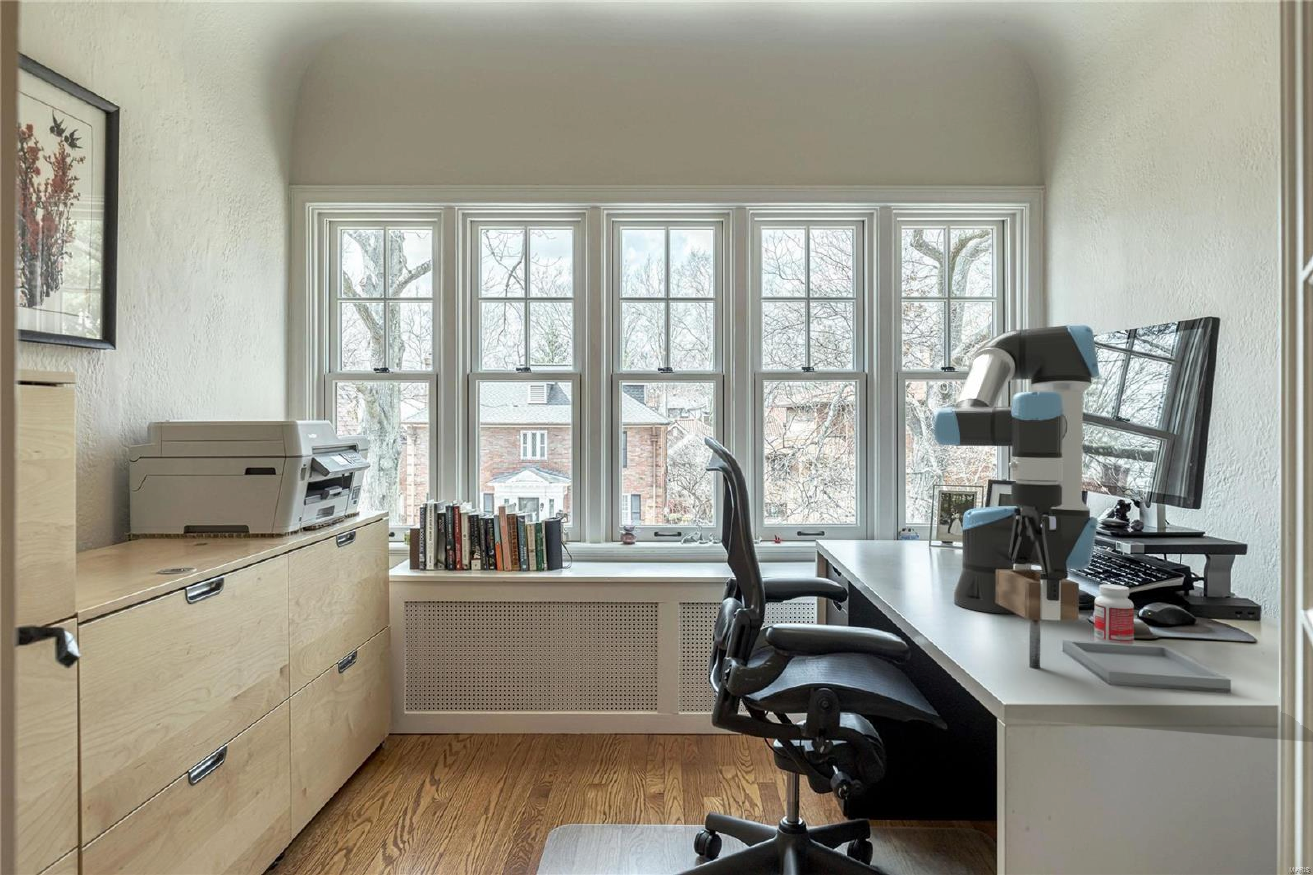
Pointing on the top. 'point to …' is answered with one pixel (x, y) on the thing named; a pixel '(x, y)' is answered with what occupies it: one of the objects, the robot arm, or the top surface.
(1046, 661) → the top surface
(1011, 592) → the brown wooden open box
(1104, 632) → the pill bottle
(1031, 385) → the robot arm
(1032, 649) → the t-shaped peg
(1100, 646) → the tray
